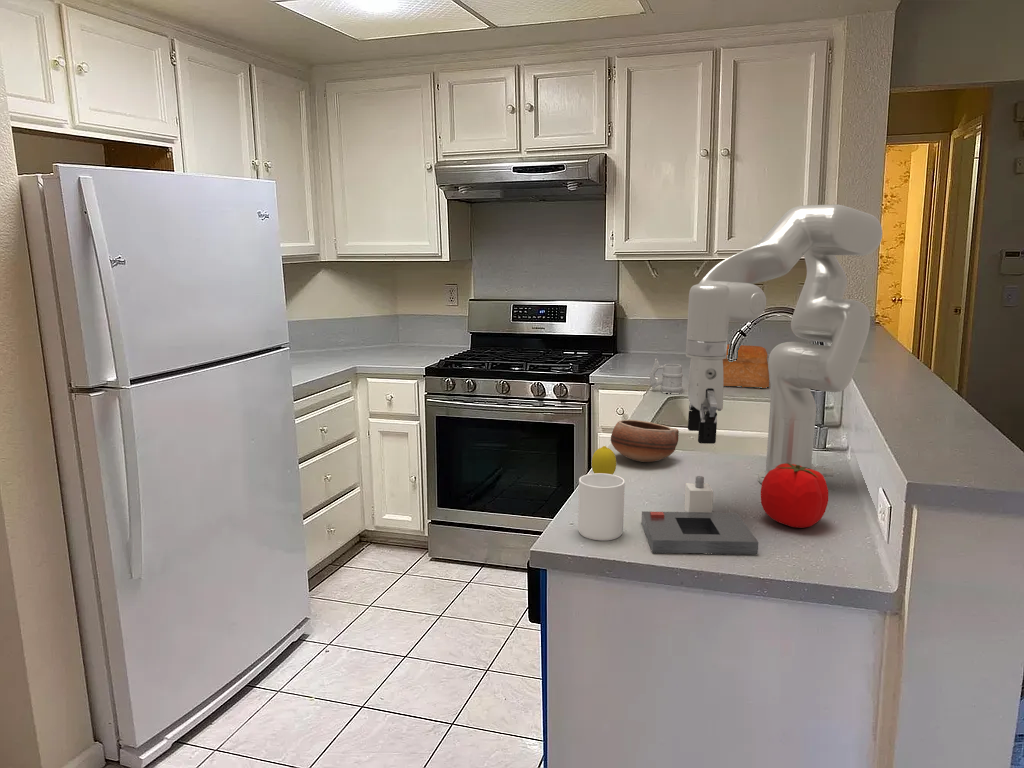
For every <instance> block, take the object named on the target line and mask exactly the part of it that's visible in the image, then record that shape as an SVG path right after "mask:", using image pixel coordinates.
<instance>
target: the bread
mask: <svg viewBox="0 0 1024 768" xmlns="http://www.w3.org/2000/svg"><path fill="white" fill-rule="evenodd" d="M729 345H730V343H729V344H728V343H727V354H726V358H725V359H722V360H723V387H724V386H742V387H741V388H744V387H762V388H766V387H769V388H770V377H769V370H768V357H769V354H768V352H767V349H766V348H765V347H763V346H759V345H758V346H757V345H743V344H742V345H741V346H740V348H739V350H738V358H737V360H736V361H733V362H729V361H728V359H727V355H728V349H729ZM766 389H767V388H766Z"/></svg>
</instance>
